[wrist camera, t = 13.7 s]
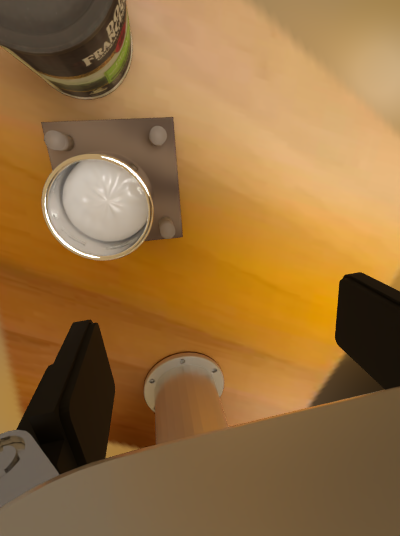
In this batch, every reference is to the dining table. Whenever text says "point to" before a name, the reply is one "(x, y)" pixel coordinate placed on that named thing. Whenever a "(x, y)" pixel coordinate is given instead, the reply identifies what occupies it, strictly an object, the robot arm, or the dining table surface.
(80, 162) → the beer glass
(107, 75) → the coffee can
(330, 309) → the dining table surface
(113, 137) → the peg stand
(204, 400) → the robot arm
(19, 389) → the dining table surface
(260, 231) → the dining table surface
